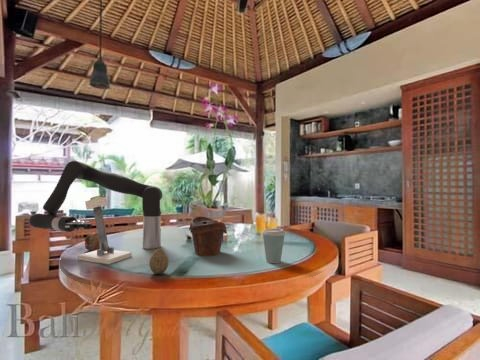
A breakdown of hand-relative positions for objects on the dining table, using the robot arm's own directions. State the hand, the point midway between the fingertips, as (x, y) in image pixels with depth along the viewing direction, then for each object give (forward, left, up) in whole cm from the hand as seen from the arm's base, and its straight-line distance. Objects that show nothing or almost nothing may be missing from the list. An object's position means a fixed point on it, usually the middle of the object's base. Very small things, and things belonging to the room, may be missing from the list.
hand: (90, 226), depth 134 cm
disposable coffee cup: (-85, +19, -14) cm, 89 cm away
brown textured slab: (+3, -15, -14) cm, 21 cm away
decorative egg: (-35, +31, -14) cm, 49 cm away
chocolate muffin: (-56, 0, -14) cm, 58 cm away
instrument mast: (-8, +5, -12) cm, 15 cm away
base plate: (-8, +5, -14) cm, 17 cm away
